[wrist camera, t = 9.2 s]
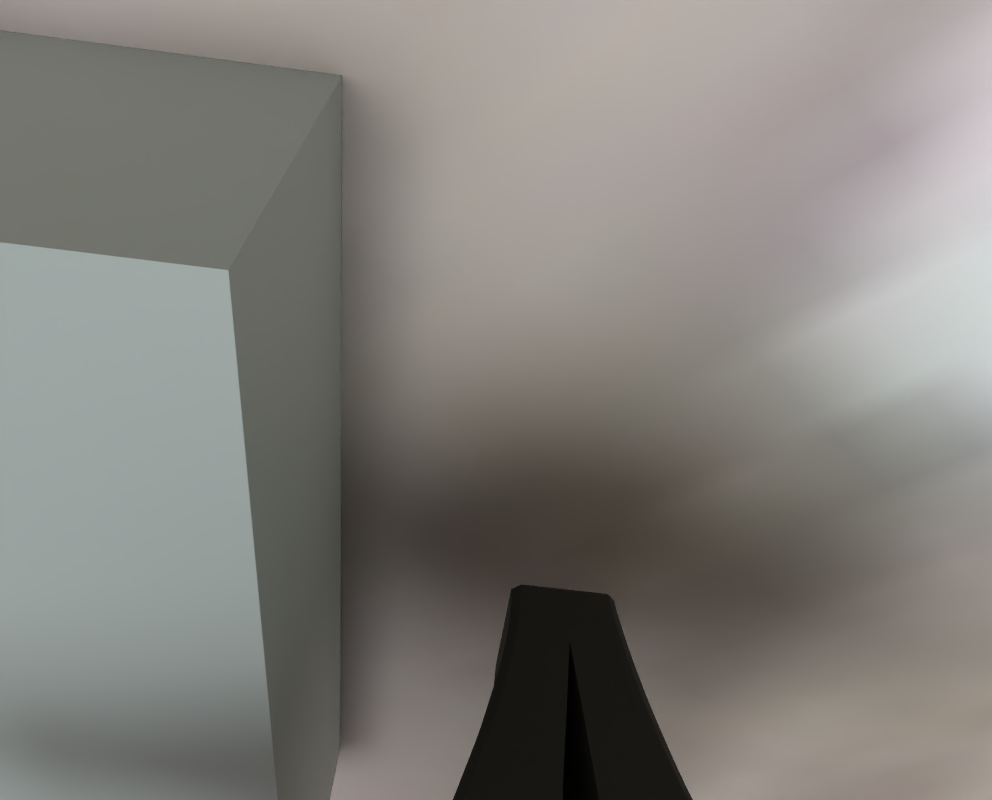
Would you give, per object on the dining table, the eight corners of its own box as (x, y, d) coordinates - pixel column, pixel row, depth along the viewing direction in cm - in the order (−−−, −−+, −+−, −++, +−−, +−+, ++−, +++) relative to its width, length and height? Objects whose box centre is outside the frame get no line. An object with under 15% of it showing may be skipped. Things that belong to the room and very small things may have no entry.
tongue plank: (342, 734, 18) (294, 978, 15) (34, 703, 18) (-91, 943, 14) (346, 68, 9) (228, 270, 6) (-256, -11, 9) (-758, 149, 6)
